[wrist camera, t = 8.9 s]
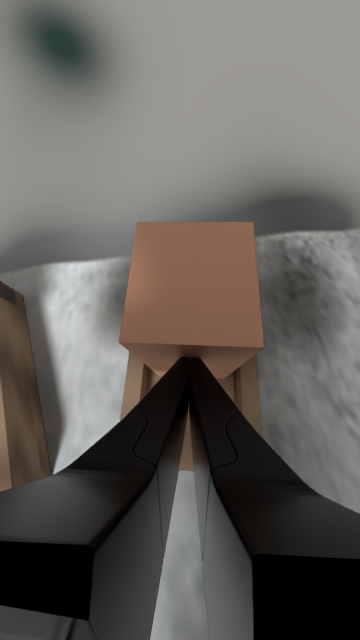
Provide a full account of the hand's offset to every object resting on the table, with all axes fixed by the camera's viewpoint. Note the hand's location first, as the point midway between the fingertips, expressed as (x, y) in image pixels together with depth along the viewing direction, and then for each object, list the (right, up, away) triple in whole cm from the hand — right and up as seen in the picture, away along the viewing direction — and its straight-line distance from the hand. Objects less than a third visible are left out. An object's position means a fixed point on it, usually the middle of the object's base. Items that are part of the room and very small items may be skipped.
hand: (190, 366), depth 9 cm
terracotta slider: (0, 0, +7) cm, 7 cm away
